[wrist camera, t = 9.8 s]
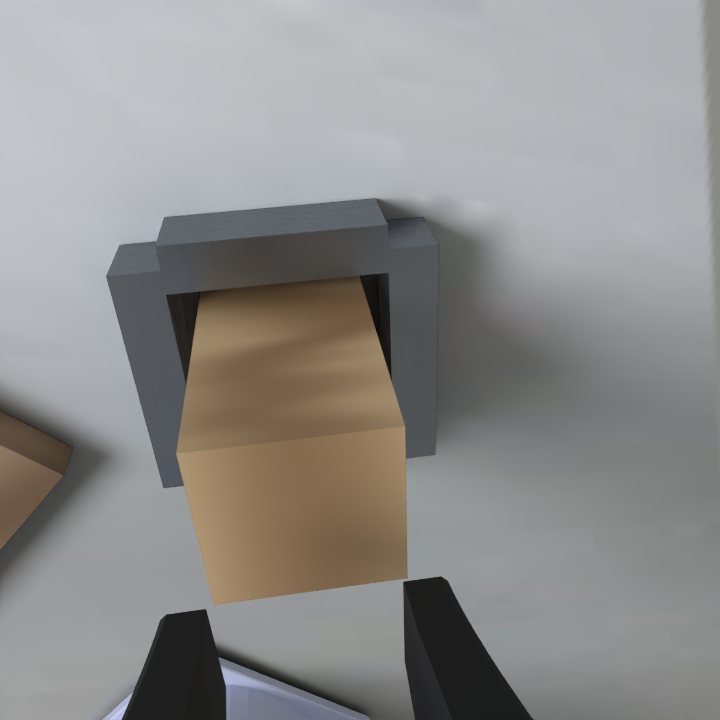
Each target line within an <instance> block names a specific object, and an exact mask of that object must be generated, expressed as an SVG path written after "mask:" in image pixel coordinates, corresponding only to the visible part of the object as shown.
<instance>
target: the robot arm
mask: <svg viewBox="0 0 720 720" xmlns="http://www.w3.org/2000/svg"><path fill="white" fill-rule="evenodd" d="M403 588H404V643H405V664H406V670H407V676H408V681H409V687H410V693H411V699H412V704H413V710H414V715H415V720H533V719H532V717H531V716H530V715H529V713H528V712H527V710H526V709H525V707H524V706H523V704H522V703H521V702H520V700H519V699H518V697H517V696H516V694H515V693H514V691H513V690H512V688H511V687H510V686H509V684H508V683H507V681H506V680H505V678H504V677H503V675H502V674H501V672H500V671H499V669H498V668H497V666H496V665H495V663H494V662H493V660H492V659H491V657H490V655H489V654H488V652H487V651H486V649H485V647H484V646H483V644H482V642H481V641H480V639H479V638H478V636H477V634H476V633H475V631H474V629H473V628H472V626H471V624H470V622H469V621H468V619H467V617H466V615H465V614H464V612H463V610H462V608H461V606H460V604H459V603H458V601H457V599H456V597H455V595H454V593H453V591H452V589H451V587H450V585H449V583H448V581H447V580H446V579H444V578H443V577H434V578H427V579H420V580H413V581H405V582H403ZM103 720H370V718H369V717H368V716H366V715H363V714H361V713H358V712H356V711H353V710H351V709H348V708H346V707H343V706H341V705H338V704H336V703H333V702H331V701H328V700H326V699H323V698H321V697H318V696H316V695H313V694H311V693H308V692H306V691H303V690H301V689H298V688H295V687H293V686H290V685H288V684H285V683H283V682H280V681H278V680H275V679H273V678H270V677H268V676H265V675H263V674H260V673H258V672H255V671H253V670H250V669H248V668H245V667H243V666H240V665H238V664H235V663H233V662H230V661H228V660H225V659H222V658H220V657H218V654H217V650H216V646H215V642H214V638H213V634H212V631H211V627H210V623H209V619H208V615H207V611H206V609H203V610H196V611H189V612H182V613H175V614H167V615H165V616H164V617H163V618H162V619H161V620H160V623H159V626H158V629H157V632H156V635H155V638H154V640H153V643H152V646H151V649H150V651H149V654H148V657H147V659H146V662H145V664H144V667H143V670H142V672H141V675H140V677H139V680H138V682H137V684H136V687H135V689H134V691H133V692H132V693H131V694H130V695H129V696H128V697H127V698H126V699H125V700H124V701H123V702H121V703H120V704H119V705H118V706H117V707H116V708H115V709H114V710H113V711H112V712H111V713H110V714H108V715H107V716H106V717H105V718H104V719H103Z"/></svg>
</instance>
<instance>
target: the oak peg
mask: <svg viewBox="0 0 720 720" xmlns="http://www.w3.org/2000/svg"><path fill="white" fill-rule="evenodd" d="M176 455H177V459H178V463H179V467H180V471H181V475H182V479H183V483H184V487H185V491H186V495H187V499H188V503H189V507H190V511H191V515H192V519H193V523H194V527H195V531H196V535H197V539H198V543H199V547H200V551H201V555H202V559H203V563H204V567H205V571H206V575H207V579H208V583H209V587H210V591H211V595H212V599H213V603H214V605H217V604H224V603H232V602H239V601H246V600H253V599H260V598H268V597H275V596H282V595H289V594H296V593H304V592H311V591H318V590H325V589H332V588H340V587H347V586H354V585H361V584H369V583H376V582H383V581H390V580H397V579H405V578H408V577H407V513H406V449H405V424H404V421H403V418H402V414H401V411H400V408H399V405H398V401H397V398H396V395H395V391H394V388H393V385H392V381H391V378H390V375H389V372H388V368H387V365H386V362H385V358H384V355H383V352H382V349H381V345H380V342H379V339H378V335H377V332H376V329H375V326H374V322H373V319H372V316H371V312H370V309H369V306H368V303H367V299H366V296H365V293H364V289H363V286H362V283H361V280H360V276H351V277H341V278H331V279H320V280H310V281H300V282H290V283H280V284H270V285H260V286H250V287H240V288H230V289H220V290H210V291H201V292H200V298H199V305H198V312H197V318H196V325H195V332H194V338H193V345H192V352H191V358H190V365H189V372H188V378H187V385H186V392H185V398H184V405H183V412H182V418H181V425H180V432H179V438H178V445H177V452H176Z"/></svg>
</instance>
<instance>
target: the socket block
mask: <svg viewBox="0 0 720 720" xmlns="http://www.w3.org/2000/svg"><path fill="white" fill-rule="evenodd" d="M438 273H439V243H438V242H437V240H436V238H435V237H434V235H433V233H432V232H431V230H430V228H429V226H428V225H427V223H426V221H425V220H424V218H423V217H419V218H408V219H397V220H385V218H384V216H383V213H382V211H381V209H380V207H379V205H378V202H377V200H376V199H365V200H354V201H342V202H331V203H320V204H309V205H298V206H287V207H276V208H264V209H253V210H242V211H231V212H220V213H209V214H198V215H186V216H175V217H164V220H163V223H162V226H161V229H160V232H159V236H158V239H157V242H149V243H138V244H127V245H119V248H118V250H117V252H116V255H115V257H114V259H113V262H112V264H111V266H110V269H109V271H108V273H107V276H106V277H107V281H108V285H109V288H110V292H111V296H112V299H113V303H114V307H115V310H116V314H117V318H118V322H119V325H120V329H121V333H122V336H123V340H124V344H125V347H126V351H127V355H128V358H129V362H130V366H131V370H132V373H133V377H134V381H135V384H136V388H137V392H138V395H139V399H140V403H141V406H142V410H143V414H144V418H145V421H146V425H147V429H148V432H149V436H150V440H151V443H152V447H153V451H154V455H155V458H156V462H157V466H158V469H159V473H160V477H161V480H162V484H163V488H169V487H177V486H184V483H183V479H182V475H181V471H180V467H179V463H178V459H177V455H176V452H177V445H178V438H179V432H180V425H181V418H182V412H183V405H184V398H185V392H186V385H187V378H188V372H189V365H190V358H191V352H192V348H191V343H190V338H189V334H188V329H187V324H186V319H185V314H184V310H183V305H182V300H181V295H180V293H189V292H200V291H210V290H220V289H230V288H240V287H250V286H260V285H270V284H280V283H290V282H300V281H310V280H320V279H331V278H341V277H351V276H361V275H371V274H378V277H379V305H380V334H381V349H382V352H383V355H384V358H385V362H386V365H387V368H388V372H389V375H390V378H391V381H392V385H393V388H394V391H395V395H396V398H397V401H398V405H399V408H400V411H401V414H402V418H403V421H404V424H405V449H406V458H413V457H421V456H429V455H435V451H436V391H437V332H438Z"/></svg>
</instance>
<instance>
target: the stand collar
mask: <svg viewBox="0 0 720 720" xmlns="http://www.w3.org/2000/svg"><path fill="white" fill-rule="evenodd" d="M72 450H73V447H71V446H69V445H67V444H65V443H63V442H61V441H59V440H57V439H55V438H53V437H51V436H49V435H47V434H45V433H43V432H41V431H39V430H37V429H35V428H33V427H31V426H29V425H27V424H25V423H23V422H21V421H19V420H17V419H15V418H13V417H11V416H9V415H7V414H5V413H3V412H1V411H0V549H1V548H2V547H3V546H4V545H5V543H6V542H7V541H8V540H9V539H10V538H11V536H12V535H13V534H14V533H15V532H16V531H17V529H18V528H19V527H20V526H21V525H22V524H23V522H24V521H25V520H26V519H27V518H28V517H29V515H30V514H31V513H32V512H33V511H34V510H35V508H36V507H37V506H38V505H39V504H40V503H41V501H42V500H43V499H44V498H45V497H46V496H47V494H48V493H49V492H50V491H51V490H52V489H53V487H54V486H55V485H56V484H57V483H58V482H59V480H60V479H61V478H62V477H63V476H64V473H65V470H66V467H67V464H68V462H69V459H70V456H71V453H72Z"/></svg>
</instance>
